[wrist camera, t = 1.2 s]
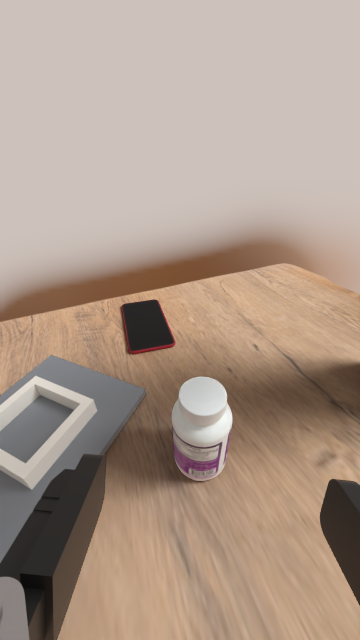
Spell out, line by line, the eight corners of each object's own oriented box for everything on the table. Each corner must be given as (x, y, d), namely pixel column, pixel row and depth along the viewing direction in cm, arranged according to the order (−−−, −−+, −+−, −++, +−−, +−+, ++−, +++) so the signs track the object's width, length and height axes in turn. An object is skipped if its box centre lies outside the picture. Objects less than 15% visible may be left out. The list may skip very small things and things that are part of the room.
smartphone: (157, 298, 52) (176, 343, 40) (157, 302, 53) (176, 348, 41) (121, 304, 51) (129, 352, 39) (121, 308, 51) (129, 357, 39)
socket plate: (53, 359, 38) (47, 344, 37) (146, 394, 33) (143, 378, 31) (-104, 488, 24) (-126, 473, 22) (12, 588, 19) (-5, 577, 17)
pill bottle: (194, 422, 29) (196, 360, 24) (235, 450, 27) (248, 388, 21) (162, 459, 26) (156, 398, 21) (206, 496, 23) (212, 436, 18)
